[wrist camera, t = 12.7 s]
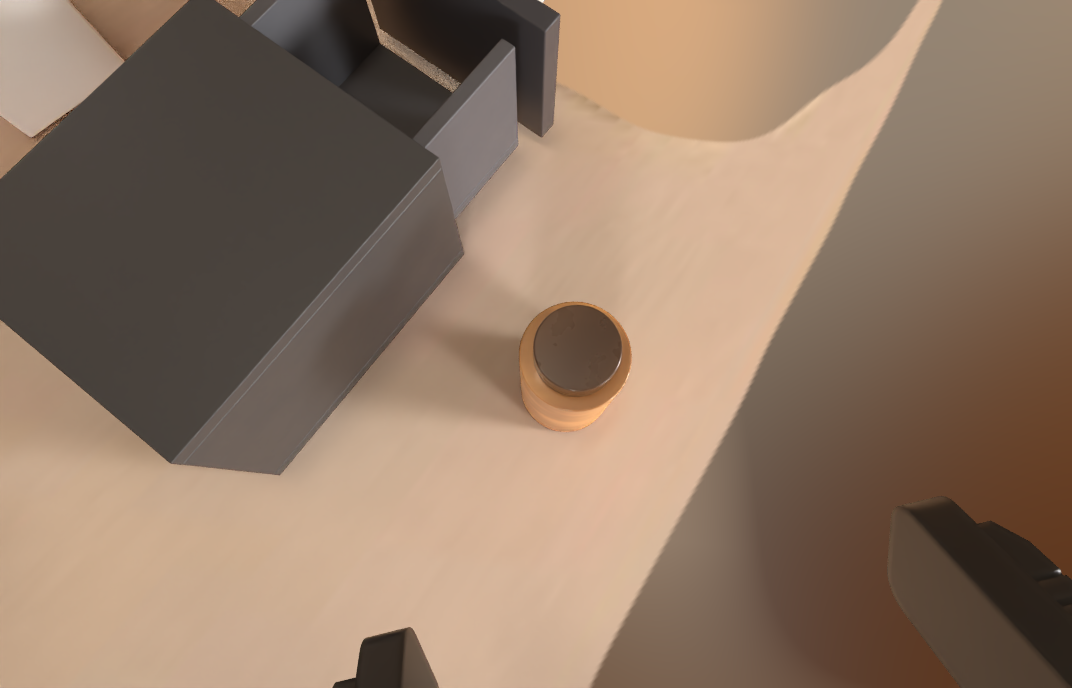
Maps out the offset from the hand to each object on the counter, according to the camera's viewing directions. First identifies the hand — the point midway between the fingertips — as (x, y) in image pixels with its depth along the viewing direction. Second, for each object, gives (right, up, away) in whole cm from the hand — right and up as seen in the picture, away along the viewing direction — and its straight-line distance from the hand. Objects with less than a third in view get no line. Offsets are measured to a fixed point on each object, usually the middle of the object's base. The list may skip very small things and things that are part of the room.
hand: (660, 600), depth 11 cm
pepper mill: (0, +2, +25) cm, 25 cm away
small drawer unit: (-16, +7, +26) cm, 31 cm away
